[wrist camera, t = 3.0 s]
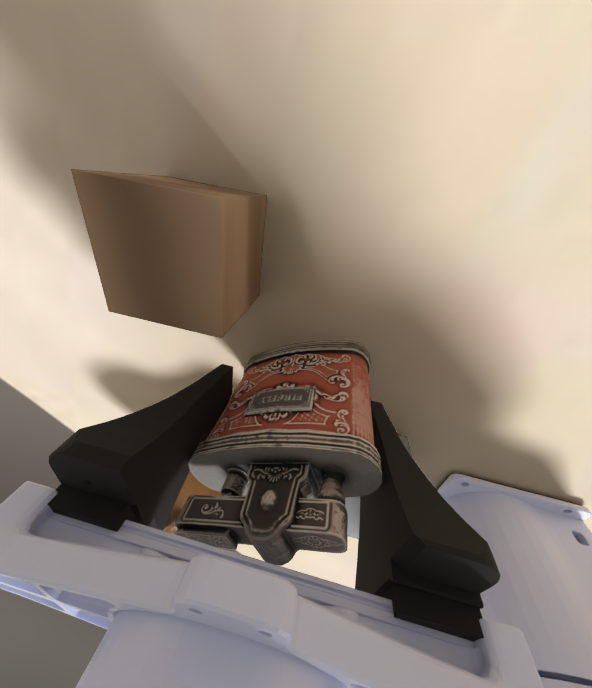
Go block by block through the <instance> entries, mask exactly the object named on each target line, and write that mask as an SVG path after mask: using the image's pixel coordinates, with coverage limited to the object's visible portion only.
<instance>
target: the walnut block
mask: <svg viewBox="0 0 592 688" xmlns="http://www.w3.org/2000/svg"><path fill="white" fill-rule="evenodd" d="M71 170H72V174H73V178H74V182H75V185H76V189H77V193H78V197H79V201H80V204H81V208H82V212H83V216H84V219H85V223H86V227H87V231H88V234H89V238H90V242H91V246H92V249H93V253H94V257H95V261H96V265H97V268H98V272H99V276H100V280H101V283H102V287H103V291H104V295H105V298H106V302H107V306H108V310H109V311H110V312H114V313H118V314H123V315H127V316H131V317H135V318H139V319H143V320H148V321H152V322H156V323H160V324H164V325H169V326H173V327H177V328H181V329H185V330H189V331H194V332H198V333H202V334H206V335H210V336H215V337H219V338H222V337H223V336H224V335H225V333H226V332H227V331H228V330H229V329H230V328H231V327H232V326H233V324H234V323H235V322H236V321H237V320H238V319H239V318H240V317H241V315H242V314H243V313H244V312H245V311H246V310H247V309H248V308H249V306H250V305H251V304H252V303H253V302H254V301H255V300H256V299H257V297H258V296H259V287H260V275H261V262H262V250H263V237H264V225H265V212H266V200H267V196H266V195H261V194H256V193H250V192H245V191H240V190H235V189H229V188H224V187H219V186H214V185H208V184H203V183H198V182H193V181H187V180H182V179H177V178H172V177H166V176H153V175H140V174H127V173H114V172H102V171H89V170H76V169H71Z"/></svg>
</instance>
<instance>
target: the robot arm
mask: <svg viewBox="0 0 592 688" xmlns="http://www.w3.org/2000/svg"><path fill="white" fill-rule="evenodd" d="M232 378H233V367H232V366H228V365H224V364H222V365H220V366H219V367H217V368H216V369H214V370H213V371H211V372H210V373H208V374H207V375H205V376H204V377H202V378H201V379H199V380H198V381H196V382H195V383H193V384H192V385H190V386H188V387H187V388H185V389H183V390H181V391H180V392H178V393H176V394H174V395H173V396H171V397H169V398H167V399H165V400H163V401H161V402H159V403H156V404H154V405H152V406H149V407H147V408H145V409H142V410H140V411H137V412H135V413H132V414H129V415H126V416H124V417H121V418H117V419H114V420H111V421H108V422H105V423H101V424H97V425H93V426H90V427H86V428H82V429H79V430H78V431H77V432H76V433H74V434H73V435H72V436H71V437H70V438H69V439H67V440H66V441H65V442H64V443H63V444H62V445H61V446H60V447H58V448H57V449H56V450H55V451H54V452H53V453H52V454H51V455H50V456H49V464H50V466H51V468H52V470H53V471H54V473H55V474H56V476H57V478H58V479H59V481H60V482H61V485H60V486H59V487H58V488H57V489H56V490H55V489H52V488H50V487H47V486H43V485H40V484H37V483H33V482H30V481H28V482H25V483H24V484H23V485H22V486H20V487H19V488H18V489H17V490H16V491H15V492H14V493H13V494H11V495H10V496H9V497H8V498H7V499H6V500H5V501H4V502H3V503H2V504H0V589H3V590H6V591H9V592H12V593H14V594H17V595H20V596H23V597H25V598H28V599H31V600H33V601H36V602H38V603H41V604H44V605H46V606H49V607H51V608H54V609H56V610H59V611H62V612H64V613H67V614H69V615H72V616H74V617H77V618H79V619H82V620H85V621H87V622H89V623H92V624H95V625H97V626H100V627H102V628H105V629H107V632H106V634H105V636H104V637H103V639H102V641H101V643H100V645H99V647H98V648H97V650H96V652H95V654H94V656H93V657H92V659H91V661H90V663H89V664H88V666H87V668H86V670H85V672H84V673H83V675H82V677H81V679H80V681H79V683H78V684H77V686H76V688H592V533H591V532H590V530H589V529H588V527H587V526H586V524H585V523H584V522H583V521H585V520H586V519H588V518H589V517H591V513H590V511H589V510H588V509H587V508H586V507H583V506H580V505H576V504H572V503H568V502H564V501H561V500H557V499H553V498H549V497H545V496H542V495H538V494H534V493H530V492H526V491H522V490H519V489H515V488H511V487H507V486H503V485H500V484H496V483H492V482H488V481H484V480H481V479H477V478H473V477H469V476H465V475H462V474H451V475H450V476H449V477H448V478H447V480H446V481H445V482H444V483H443V484H442V485H441V487H440V488H439V489H438V490H436V489H435V488H434V486H433V485H432V484H431V483H430V482H429V480H428V479H427V478H426V477H425V475H424V474H423V473H422V471H421V470H420V469H419V467H418V466H417V464H416V463H415V462H414V460H413V459H412V457H411V456H410V454H409V453H408V451H407V449H406V448H405V446H404V445H403V443H402V441H401V439H400V438H399V436H398V434H397V432H396V431H395V429H394V427H393V425H392V423H391V421H390V419H389V417H388V415H387V413H386V411H385V409H384V407H383V405H382V404H381V403H378V402H374V401H371V412H372V423H373V435H374V446H375V448H376V449H377V451H378V453H379V455H380V459H381V469H382V484H381V485H380V487H379V488H378V490H376V491H375V492H373V493H371V494H369V495H365V496H360V524H359V543H358V559H357V572H356V585H355V589H353V588H350V587H347V586H343V585H340V584H337V583H334V582H330V581H327V580H324V579H320V578H317V577H314V576H310V575H307V574H304V573H301V572H297V571H294V570H291V569H287V568H284V567H281V566H277V565H274V564H271V563H268V562H264V561H261V560H258V559H254V558H251V557H248V556H244V555H241V554H238V553H234V552H231V551H228V550H225V549H221V548H218V547H215V546H211V545H208V544H205V543H202V542H198V541H195V540H192V539H188V538H185V537H182V536H178V535H175V534H172V533H169V532H165V531H163V530H164V527H165V525H166V523H167V520H168V518H169V516H170V513H171V511H172V508H173V506H174V504H175V502H176V499H177V497H178V495H179V493H180V491H181V488H182V486H183V484H184V482H185V480H186V478H187V476H188V473H189V471H190V470H189V465H188V462H189V460H190V459H191V457H192V455H193V454H194V452H195V450H196V449H197V447H198V445H199V444H200V443H201V442H203V441H205V440H206V439H207V438H208V436H209V434H210V433H211V431H212V430H213V428H214V426H215V425H216V423H217V421H218V419H219V418H220V416H221V414H222V413H223V411H224V409H225V407H226V406H227V404H228V402H229V400H230V397H231V395H232Z"/></svg>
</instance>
